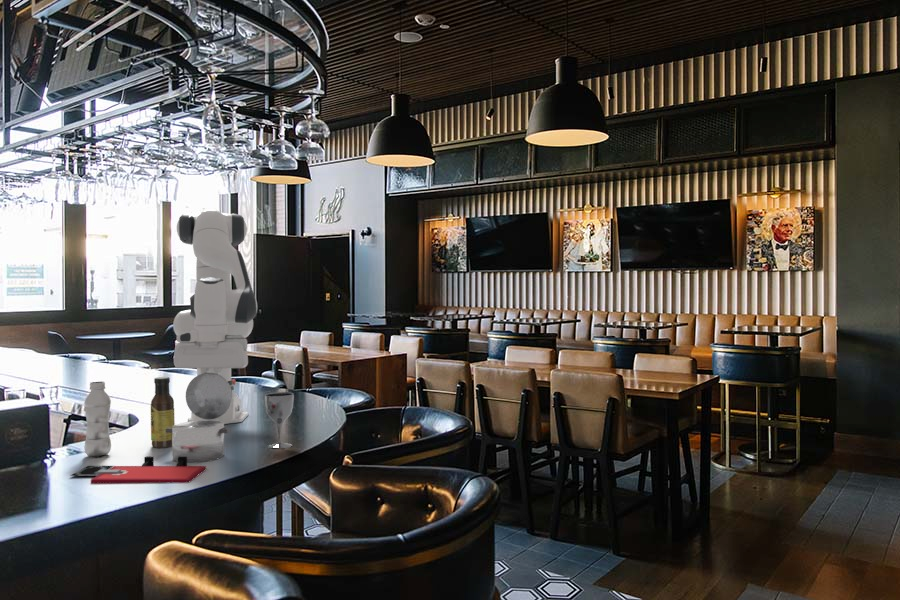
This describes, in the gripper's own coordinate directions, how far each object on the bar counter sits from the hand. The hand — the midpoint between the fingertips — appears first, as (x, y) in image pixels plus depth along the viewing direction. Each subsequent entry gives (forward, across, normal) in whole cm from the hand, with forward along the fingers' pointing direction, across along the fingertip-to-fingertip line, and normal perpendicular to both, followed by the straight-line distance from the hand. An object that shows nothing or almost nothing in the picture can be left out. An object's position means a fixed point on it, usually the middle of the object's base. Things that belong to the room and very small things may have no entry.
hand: (211, 384), depth 184 cm
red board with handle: (+19, +7, +26) cm, 33 cm away
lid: (+3, 0, +2) cm, 4 cm away
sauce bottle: (+19, +16, -4) cm, 25 cm away
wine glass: (+19, -18, -5) cm, 26 cm away
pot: (+18, 0, +8) cm, 20 cm away
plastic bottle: (+19, +28, +8) cm, 35 cm away
